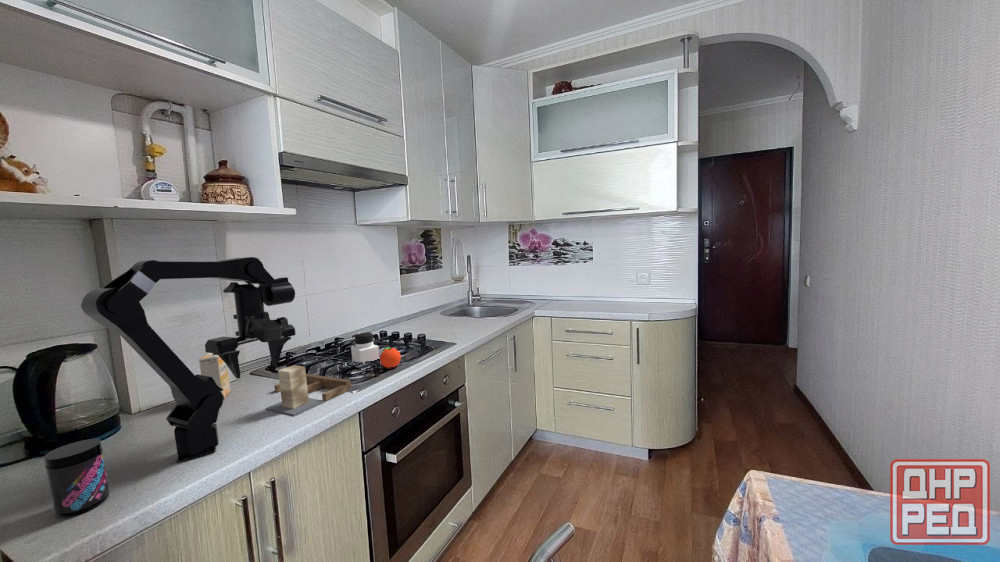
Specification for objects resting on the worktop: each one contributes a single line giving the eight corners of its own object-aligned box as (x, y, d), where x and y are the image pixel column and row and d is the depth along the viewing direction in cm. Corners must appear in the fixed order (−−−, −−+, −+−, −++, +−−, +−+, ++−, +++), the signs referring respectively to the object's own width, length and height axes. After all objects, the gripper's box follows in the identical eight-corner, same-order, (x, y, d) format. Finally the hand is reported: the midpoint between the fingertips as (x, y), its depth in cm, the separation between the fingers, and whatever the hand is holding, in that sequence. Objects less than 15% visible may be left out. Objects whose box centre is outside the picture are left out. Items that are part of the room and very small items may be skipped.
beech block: (293, 408, 103) (289, 372, 102) (282, 406, 105) (278, 370, 104) (308, 402, 107) (304, 366, 106) (297, 399, 109) (293, 365, 108)
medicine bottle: (380, 365, 138) (377, 332, 137) (361, 370, 134) (357, 336, 132) (371, 361, 144) (368, 329, 142) (352, 366, 139) (349, 333, 138)
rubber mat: (295, 415, 100) (294, 414, 100) (265, 409, 105) (265, 407, 105) (324, 402, 108) (324, 400, 108) (296, 396, 113) (296, 395, 113)
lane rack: (326, 401, 108) (325, 390, 108) (275, 391, 118) (273, 382, 118) (351, 389, 116) (350, 379, 116) (301, 381, 126) (300, 372, 126)
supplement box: (224, 400, 114) (218, 356, 113) (204, 403, 112) (198, 359, 111) (231, 390, 122) (226, 349, 120) (213, 393, 120) (207, 352, 119)
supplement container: (50, 525, 63) (38, 464, 62) (58, 506, 68) (47, 449, 67) (109, 505, 67) (99, 448, 66) (112, 488, 72) (103, 434, 71)
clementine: (375, 368, 135) (373, 348, 134) (392, 363, 140) (390, 343, 140) (388, 372, 130) (386, 351, 129) (405, 366, 135) (404, 346, 134)
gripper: (229, 317, 82) (237, 389, 84) (306, 303, 99) (313, 363, 101) (199, 316, 87) (208, 383, 89) (278, 303, 104) (284, 360, 105)
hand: (257, 372), depth 96 cm, fingers open, 9 cm apart
